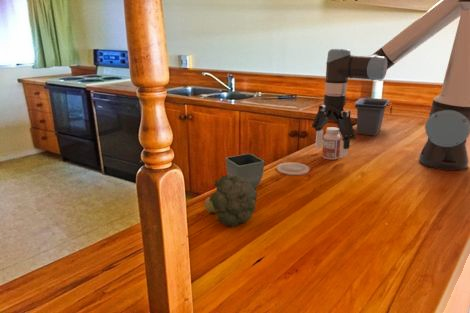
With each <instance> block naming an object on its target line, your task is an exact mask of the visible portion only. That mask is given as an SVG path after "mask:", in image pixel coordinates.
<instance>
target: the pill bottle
mask: <svg viewBox="0 0 470 313" xmlns="http://www.w3.org/2000/svg"><path fill="white" fill-rule="evenodd" d="M341 137H342V136H341V135H340V130H339V128H338V127H335V126H332V127H331V126H330V127H329V126H328V127H326V129H325V134H323V140H322V159H323V158H324V159H325V160H331V161H335V160H337V159H340V150H341V140H342V138H341Z"/></svg>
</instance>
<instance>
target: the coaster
mask: <svg viewBox="0 0 470 313" xmlns="http://www.w3.org/2000/svg"><path fill="white" fill-rule="evenodd" d="M276 171H277V172H278V173H280V174H283V175H287V176H302V175H306V174H308V173H309V172H310V166H308V165H307V164H304V163H300V162H284V163H279V164H277V165H276Z"/></svg>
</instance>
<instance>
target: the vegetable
mask: <svg viewBox="0 0 470 313" xmlns="http://www.w3.org/2000/svg"><path fill="white" fill-rule="evenodd" d="M214 187H216V191H215V192H214V193H211V194H210V196H209V197H207V198H206V199H205V201H204V207H205V209H206V211H207V212H208V213H211V214H212V213H213V214H217V221H218V222H220V223H222V224H224V226H228V227H231V228H235V227H236V226H238V224H243V223H245V222H247V221H249V219H250V218H251V217H252V215H253V214H254V212H255V210H256V201H257V197H258V193H257V191H256V188H253V187H252V185H251V184H250V183H249V182H248V180H247V179H246V178H244V177H241V176H240V177H238V176H233V177H232V176H230V175H228V174H225V175H222V176H221V177H220V178H219V179H217V180H216V181H215V183H214Z"/></svg>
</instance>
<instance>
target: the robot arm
mask: <svg viewBox="0 0 470 313" xmlns="http://www.w3.org/2000/svg"><path fill="white" fill-rule="evenodd" d="M458 18H459V20H458V25H457V29H456V32H455V36H454V39H453V44H452V48H451V51H450V55H449V60H448V63H447V65H446V66H447V67H446V71H445V75H444V78H443V83H442V86H441V90H440V93H439V94H438V95H437V96H435V97H433V99H432V103H431V106H430V111H429V116H428V119H427V120H426V122H425V126H424V129H425V134H426V137H427V140H426V142H425V144H424V146H423V148H422V150H421V152H420V153H419V158H418V161H419V162H420V164H423V165H424V166H427V167H430V168H433V169H438V170H445V171H462V170H463V171H464V170H466V169H467V168H468V165H469V156H468V150H467V145H466V144H467V139H468V137H469V136H470V0H440V1H439V2H437V3H436V4H435V5H433V6H432V7H431V8H430V9H428V10H427V11H426V12H425V13H423V14H422V15H421V16H419V18H416V20H414V21H413V22H411V24H410V25H408V26H407V27H405V28H404V29H403V30H401V31H400V32H399V33H397V35H395V36H394V37H392V38H391V39H390V40H389V41H388V42H387V43H385V44H384V45H383V46H381V47H380V48H378V50H376V51H375V52H374V53H373V54H370V55H353V54H352V53H351V50H350V49H349V48H331V49H329V50H328V52H327V59H326V62H325V63H326V71H325V83H324V95H323V96H324V98H323V104H320V105H319V106H318V111H317V112H316V116H315V118H314V120H313V123H312V125H311V128H314V130H315V134H314V135H315V136H314V138H315V143H314V144H315V149H317V148H323V137H324V129H323V128H324V127H325V126H326V124H327V123H328V122H329V121H332V122H334V123H335V124H336V126H337V128H339V133H340V134H341V137H342V138H341V140H340V154H339V158H341V159H343V158H347V157H348V151H349V148H350V141H351V140H354V139H356V135H355V131H354V127H353V123H352V118H351V110H344V107H346V103H347V96H346V94H347V91H348V82H349V79H358V80H359V79H361V80H371V81H374V80H378V81H381V80H384V79H385V77H386V75H387V71H388V70H389V69H391V67H393V66H394V65H395V64H397V63H398V62H399V61H401V60H402V59H404V58H405V57H406V56H409V54H410V53H412V52H413V51H414V50H416V49H417V48H419V47H420V46H422V44H424V43H426V42H427V41H428V40H429V39H431V38H432V37H434V36H435V35H437V34H438V33H439V32H441V31H442V30H443V29H444V28H446V27H447V26H449V25H450V24H451V23H453V22H454V21H456V20H457V19H458Z"/></svg>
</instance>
